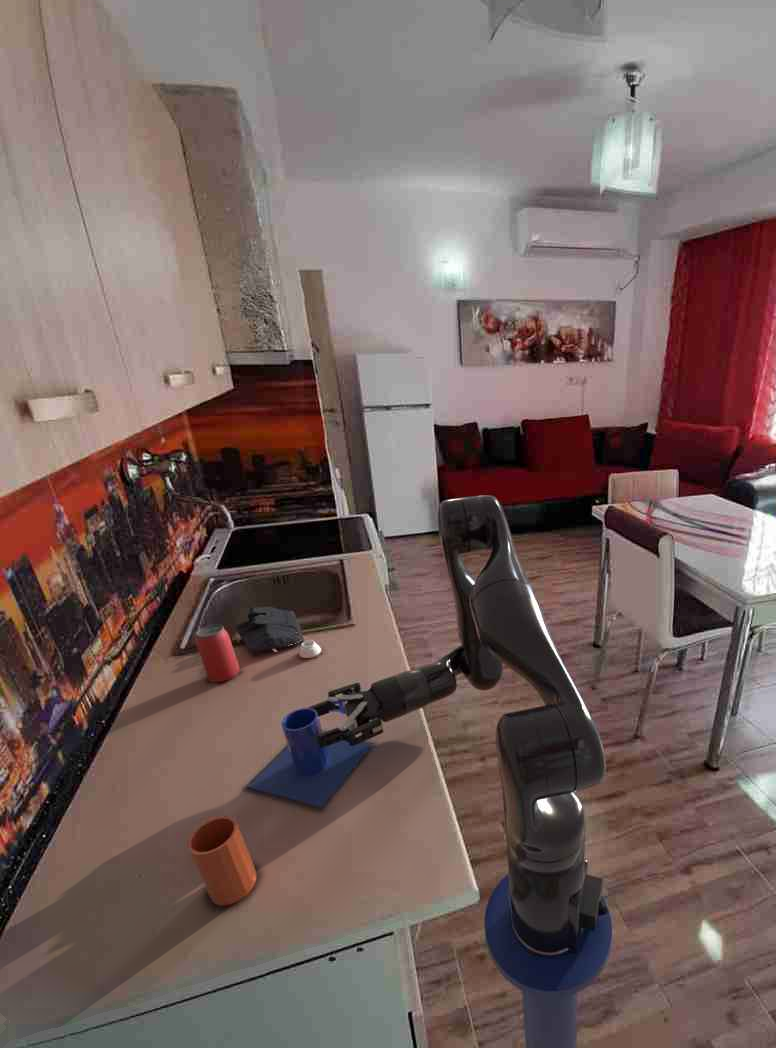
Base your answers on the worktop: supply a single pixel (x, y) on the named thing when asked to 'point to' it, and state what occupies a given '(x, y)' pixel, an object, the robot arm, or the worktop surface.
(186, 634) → the worktop surface
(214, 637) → the beer can
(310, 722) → the blue cup
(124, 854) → the worktop surface
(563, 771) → the robot arm
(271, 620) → the dark slate chunk
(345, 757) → the blue mat
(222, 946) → the worktop surface
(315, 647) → the lidless jar
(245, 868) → the terracotta cup
